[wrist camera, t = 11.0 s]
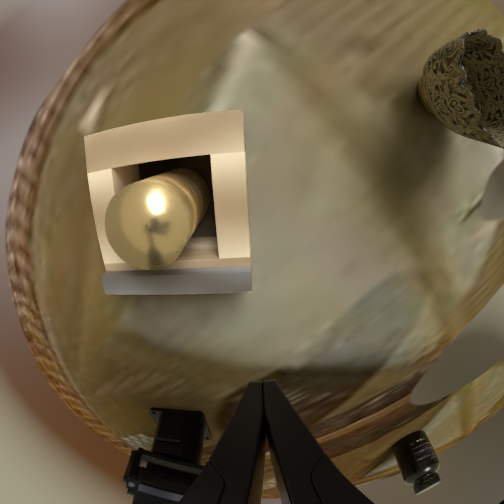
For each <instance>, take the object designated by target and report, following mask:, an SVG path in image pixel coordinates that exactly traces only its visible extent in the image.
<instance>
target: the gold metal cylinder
mask: <svg viewBox="0 0 504 504" xmlns="http://www.w3.org/2000/svg"><path fill="white" fill-rule="evenodd" d="M209 203H210V193H209V189H208V186H207V184H206V182H205V181H204V180H203V178H202V177H201V176H200V175H198V174H197V173H195V172H194V171H191V170H188V169H182V168H181V169H174V170H170V171H167V172H164V173H161V174H158V175H155V176H152V177H149V178H146V179H144V180H141V181H138V182H135V183H132V184H130V185H127V186H125V187H123V188H122V189H120V190H119V191H118V192H117V193H116V194H115V195H114V196H113V197H112V199H111V200H110V202H109V204H108V207H107V209H106V213H105V232H106V236H107V239H108V241H109V243H110V245H111V247H112V249H113V250H114V252H115V253H116V254H117V255H118V256H119V257H120V258H121V259H122V260H123V261H125V262H126V263H127V264H129V265H131V266H133V267H135V268H139V269H143V270H157V269H161V268H163V267H166V266H168V265H169V264H171V263H172V262H174V261H175V260H176V259H177V258H178V256H179V255H180V254H181V252H182V250H183V249H184V247H185V245H186V244H187V242H188V241H189V239H190V237H191V236H192V234H193V232H194V231H195V229H196V228H197V226H198V224H199V223H200V221H201V220H202V218H203V217H204V215H205V213H206V212H207V209H208V207H209Z"/></svg>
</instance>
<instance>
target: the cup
mask: <svg viewBox="0 0 504 504" xmlns="http://www.w3.org/2000/svg"><path fill="white" fill-rule="evenodd" d="M501 50H502V42H501V40H500V39H499V38H497V37H495V36H491V35H487V31H486V30H485V29H479V30H477V31H475V32H471V33H470V32H469V31H467V32H466V33H464V34H463V35H461V36H459V37H457V38H456V39H454V40H452V41H450V42H449V43H447V44H445V45H444V46H442V47H441V48H439V49H438V50H437V51H435V52H434V53H433V54H432V55H431V56H430V57H429V59H428V60H427V62H426V64H425V66H424V70H423V77H422V78H421V80H420V82H419V85H418V94H419V98H420V100H421V102H422V104H423V106H424V107H425V108H426V110H427V111H428V112H430V113H431V114H432V115H434V116H436V117H437V118H438V119H439V120H440V121H441V122H442V123H443V124H444V125H445V126H446V127H447V128H449V129H450V130H452V131H453V132H455V133H457V134H460V135H462V136H465V137H467V138H471V139H474V140H477V141H480V142H484V143H487V144H491V145H494V146H497V147H500V148H503V149H504V54H503V52H502V51H501Z"/></svg>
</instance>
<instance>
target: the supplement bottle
mask: <svg viewBox="0 0 504 504" xmlns="http://www.w3.org/2000/svg"><path fill="white" fill-rule="evenodd" d="M393 452H394V455H395V458H396V461H397V463H398V466H399V469H400V471H401V474H402V477H403V480H404V482H405V483H406V484H408V485H413V486H414V487H413V490H414V493H415V495H418V494H421V493H423V492H425V491H427V490H429V489H431V488H432V487H434V486H436V485H437V484H438V483H440V482H441V480H440V477H439V474H437V473H436V472H437V470H438V469H439V466H440V462H439V460H438V458H437V456H436V453H435V451H434V449H433V447H432V445H431V443H430V441H429V439H428V436H427V435H426V433H425V432H424V431H416V432H414V433H411V434H409V435H407V436H406V437H404V438H402V439H401V440H400V441H398V442H397V443H396V444H395V445H394V447H393Z"/></svg>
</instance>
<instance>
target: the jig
mask: <svg viewBox="0 0 504 504" xmlns="http://www.w3.org/2000/svg"><path fill="white" fill-rule="evenodd" d="M84 140H85V154H86V164H87V173H88V181H89V189H90V196H91V202H92V208H93V214H94V219H95V224H96V229H97V234H98V239H99V243H100V248H101V252H102V256H103V260H104V264H105V268H106V272H105V273H104V274H103V275H102V276H101V280H102V283H103V287H104V290H105V293H106V294H113V295H180V294H218V293H243V292H252V263H251V244H250V226H249V207H248V188H247V170H246V151H245V132H244V117H243V110H227V111H215V112H205V113H197V114H189V115H181V116H175V117H168V118H162V119H156V120H151V121H146V122H141V123H136V124H131V125H127V126H122V127H118V128H114V129H110V130H106V131H102V132H99V133H95V134H91V135H88V136H84ZM199 155H210V156H211V170H212V184H213V196H214V208H215V220H216V231H217V236H207V237H191V238H190V239H189V241H188V242H187V244H186V245H185V247H184V249H183V250H182V252H181V254H180V255H179V256H178V258H177V259H176V260H175V261H174V262H172V263H171V264H169V265H168V266H166V267H163V268H161V269H157V270H143V269H139V268H135V267H133V266H131V265H129V264H127V263H126V262H125V261H123V260H122V259H121V258H120V257H119V256H118V255H117V254H116V253H115V252H114V250H113V249H112V247H111V245H110V243H109V241H108V239H107V236H106V232H105V213H106V209H107V207H108V204H109V202H110V200H111V199H112V197H113V196H114V195H115V194H116V193H117V192H118V191H119V190H120V189H122V188H123V187H125V186H127V185H130V184H132V183H135V182H138V181H140V174H139V165H138V163H145V162H151V161H158V160H165V159H173V158H181V157H190V156H199Z"/></svg>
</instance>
